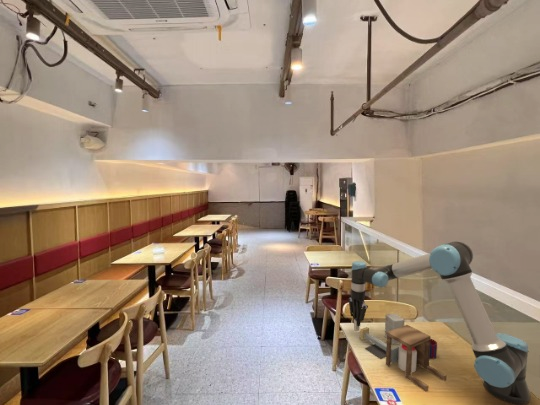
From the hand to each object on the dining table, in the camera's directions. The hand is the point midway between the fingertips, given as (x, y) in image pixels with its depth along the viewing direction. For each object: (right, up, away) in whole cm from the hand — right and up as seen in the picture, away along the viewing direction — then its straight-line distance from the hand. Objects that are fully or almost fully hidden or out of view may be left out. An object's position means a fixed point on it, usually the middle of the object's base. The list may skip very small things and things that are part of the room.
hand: (356, 330), depth 166 cm
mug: (+29, -5, -17) cm, 34 cm away
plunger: (+8, -4, -14) cm, 16 cm away
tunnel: (+18, -6, -31) cm, 36 cm away
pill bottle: (+16, -6, -27) cm, 32 cm away
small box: (+19, -3, -5) cm, 20 cm away
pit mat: (+8, -4, -14) cm, 17 cm away
